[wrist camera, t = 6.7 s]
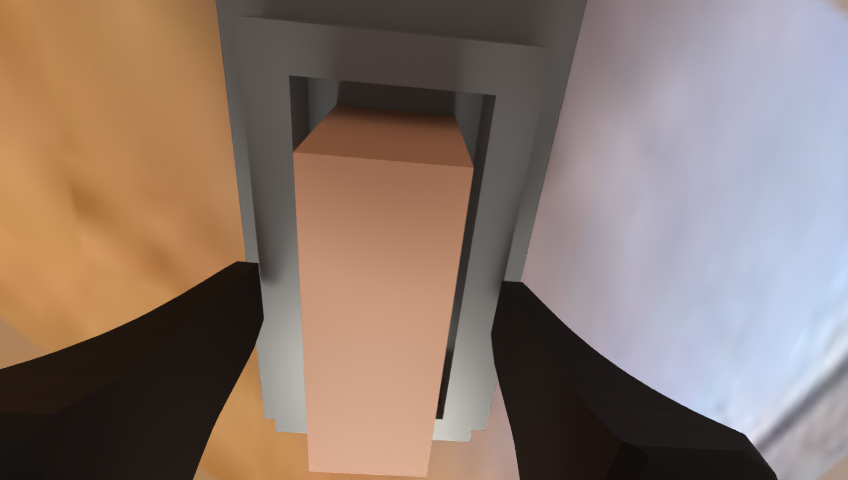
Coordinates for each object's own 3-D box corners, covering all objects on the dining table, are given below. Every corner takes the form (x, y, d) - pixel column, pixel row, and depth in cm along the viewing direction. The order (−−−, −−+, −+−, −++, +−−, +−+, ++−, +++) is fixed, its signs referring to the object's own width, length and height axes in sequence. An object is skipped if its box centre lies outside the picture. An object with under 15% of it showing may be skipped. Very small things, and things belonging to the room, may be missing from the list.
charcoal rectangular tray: (585, -25, 12) (625, -34, 10) (483, 419, 20) (491, 471, 18) (217, -66, 11) (166, -86, 9) (269, 407, 20) (249, 459, 17)
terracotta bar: (455, 115, 13) (473, 168, 9) (424, 361, 18) (426, 477, 13) (336, 104, 13) (293, 152, 8) (337, 355, 17) (309, 471, 13)
